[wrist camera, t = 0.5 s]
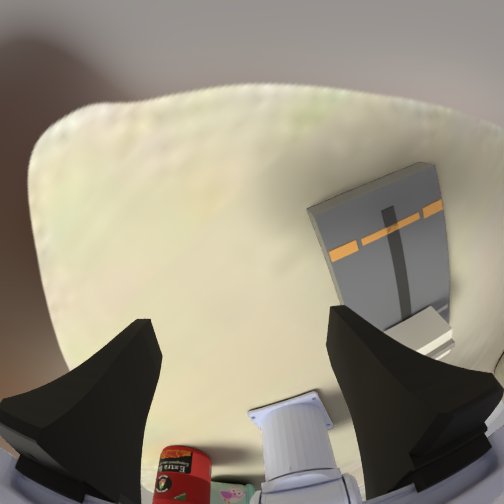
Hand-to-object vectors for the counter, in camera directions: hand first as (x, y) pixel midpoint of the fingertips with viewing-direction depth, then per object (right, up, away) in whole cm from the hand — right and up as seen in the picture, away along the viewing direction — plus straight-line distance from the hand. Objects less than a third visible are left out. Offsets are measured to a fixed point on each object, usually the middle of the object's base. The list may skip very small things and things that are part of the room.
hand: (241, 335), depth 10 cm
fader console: (+12, +1, +11) cm, 16 cm away
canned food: (-9, -27, +21) cm, 35 cm away
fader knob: (+14, -4, +10) cm, 18 cm away
